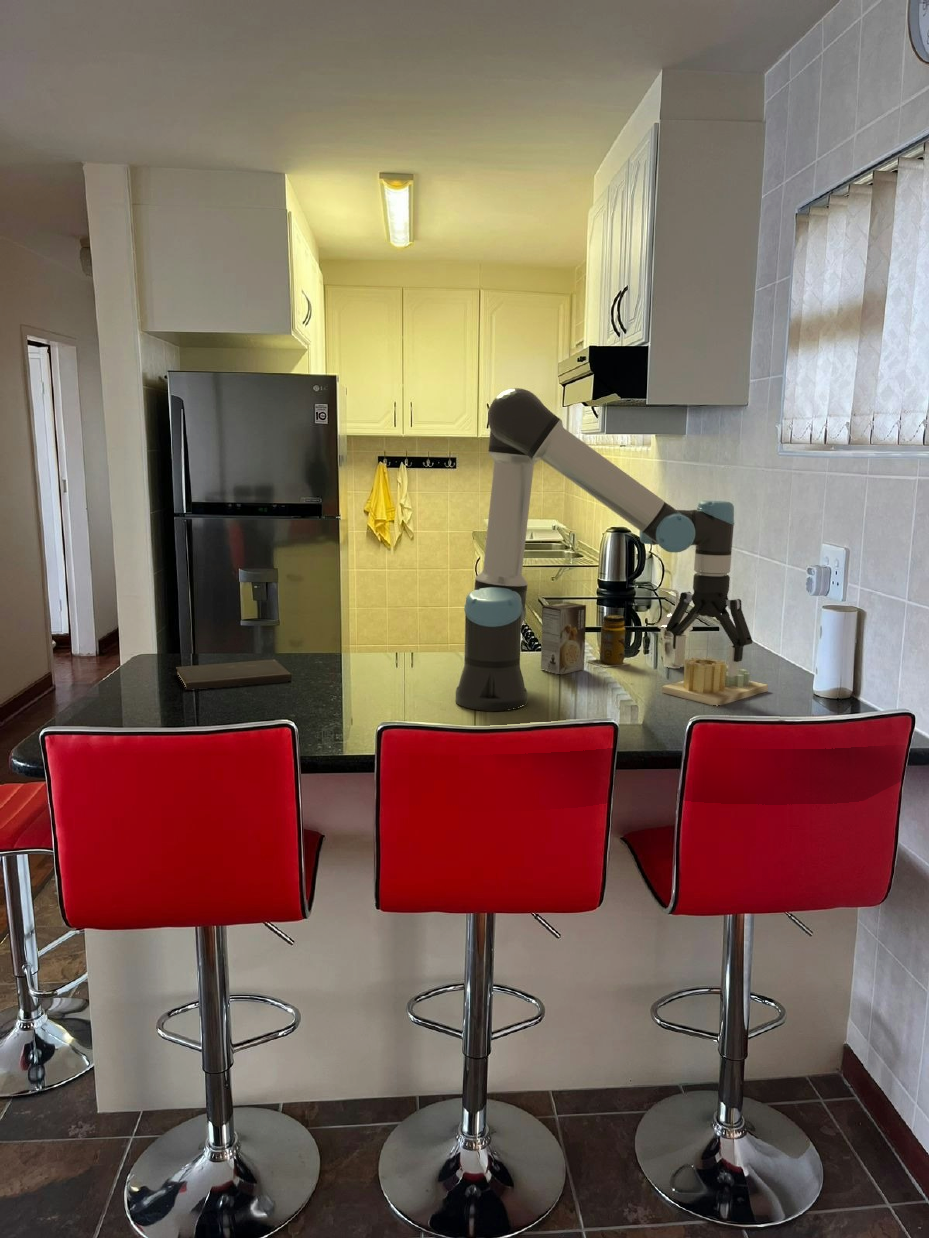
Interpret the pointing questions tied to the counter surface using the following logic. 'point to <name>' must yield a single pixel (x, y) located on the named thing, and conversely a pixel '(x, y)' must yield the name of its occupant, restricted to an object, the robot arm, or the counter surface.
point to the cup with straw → (670, 635)
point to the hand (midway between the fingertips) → (705, 669)
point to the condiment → (612, 642)
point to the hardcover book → (233, 674)
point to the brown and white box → (563, 637)
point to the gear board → (716, 699)
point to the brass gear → (705, 675)
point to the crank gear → (738, 678)
